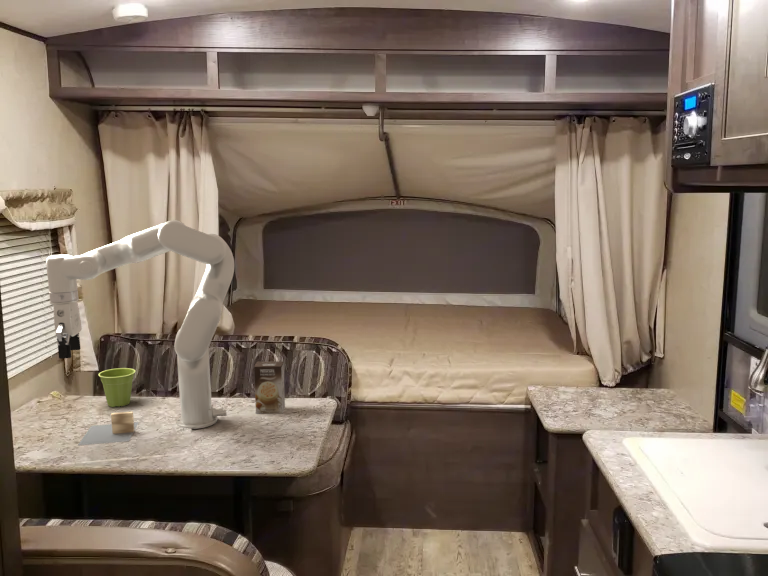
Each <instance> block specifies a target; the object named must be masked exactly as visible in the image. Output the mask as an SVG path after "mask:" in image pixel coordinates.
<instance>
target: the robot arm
mask: <svg viewBox="0 0 768 576" xmlns="http://www.w3.org/2000/svg"><path fill="white" fill-rule="evenodd" d="M168 252H173V253H175V254H178V255H180V256H182V257H185V258H189V259H191V260H194V261H197V262H199V263H202V264H205V271H204V272H203V275H202V277H201V281H200V283H199V285H198V288H197V290H196V293H195V295H194V296H193V298H192V299H191V301H190V304H189V307H188V309H187V312H186V315H185V317H184V319H183V321H182V324H181V326H180V328H179V329H178V331H177V333H176V335H175V340H174V345H173V347H174V348H173V349H174V351H175V354H176V357H177V358H176V359H177V377H178V379H177V380H178V391H179V392H178V394H179V407H180V417H178V418H177V419H176V421H175V425H176V426H177V427H180V428H183V429H191V430H197V429H204V428H207V427H211V426H212V425H215V424H216V423H217V422H218V417H226V416H227V413H228V412H227V409H224V408H215V407H214V404H212V390H211V387H212V386H211V375H210V374H211V370H210V369H211V367H210V348H209V347H210V344H211V342H212V340H213V337H214V335H215V333H216V330H217V328H218V325H219V323H220V320H221V318H222V313H223V311H222V307H223V304H224V301H225V298H226V296H227V294H228V292H229V289H230V285H231V283H232V280H233V277H234V274H235V273H234V272H235V258H234V256H233V255H234V254H233V252H232V249H231V248H230V246H229V245H228V243H227V242H226V241H225V240H224V239H223V238H222V237H221V236H220V235H218V234H214V233H205V232H202V231H199V230H197V229H194V228H192V227H189V226H187V225H186V224H185V223H184V222H182V221H180V220H178V219H172V220H167V221H166V222H163V223H160V224H157V225H154V226H152V227H151V226H150V227H149V228H146V229H143V230H140V231H138V232H135V233H132V234H130V235H127V236H125V237H123V238H121V239H120V240H117V241H113V242H112V243H109V244H106V245H103V246H101V247H98V248H95V249H93V250H90V251H87V252H85V253H83V254H80V255H79V254H78V255H74V256H73V255H70V254H53V255H50V256H48V257H47V258H46V259H45V264H46V265H45V266H46V274H47V275H46V276H47V284H48V293H49V303H50V304H51V305H53V323H54V332H55V337H56V341H57V342H56V343H57V350H58V351H57V352H58V358H59V359H60V360H62V359H71V358H72V351H80V350H81V339H80V332H81V331H82V329H83V328H82V327H83V326H82V320H81V315H80V309H79V304H78V302H79V290H78V280H84V281H87V280H88V281H90V280H94V279H95V278H97V277H98V276H100V275H101V274H104V273H106V272H109V271H112V270H114V269H117V268H120V267H124V266H127V265H129V264H136V263H137V264H138V263H142V262H145V261H147V260H150V259H152V258H156V257H158V256H160V255H163V254H166V253H168Z"/></svg>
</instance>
